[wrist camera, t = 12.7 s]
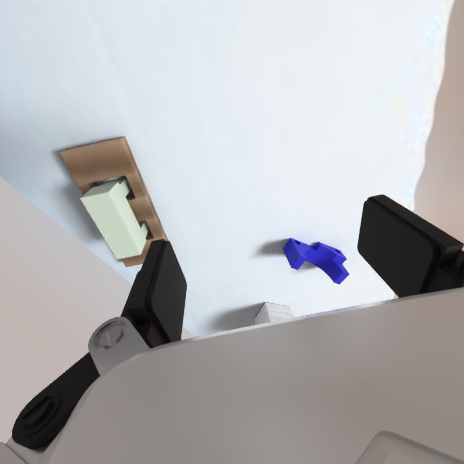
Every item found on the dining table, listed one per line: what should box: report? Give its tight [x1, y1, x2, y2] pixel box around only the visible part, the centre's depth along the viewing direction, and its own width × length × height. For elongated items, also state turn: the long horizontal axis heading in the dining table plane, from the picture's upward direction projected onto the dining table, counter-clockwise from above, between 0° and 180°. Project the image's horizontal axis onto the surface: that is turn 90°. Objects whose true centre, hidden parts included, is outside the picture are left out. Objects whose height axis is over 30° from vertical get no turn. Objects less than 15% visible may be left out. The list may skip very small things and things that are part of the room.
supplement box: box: [254, 303, 294, 325], centre depth 53 cm, size 7×7×13 cm
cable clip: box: [283, 238, 349, 284], centre depth 46 cm, size 12×4×6 cm, turn 64°
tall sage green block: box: [80, 178, 149, 259], centre depth 37 cm, size 11×4×7 cm, turn 11°
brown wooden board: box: [59, 137, 168, 267], centre depth 39 cm, size 22×9×2 cm, turn 10°
